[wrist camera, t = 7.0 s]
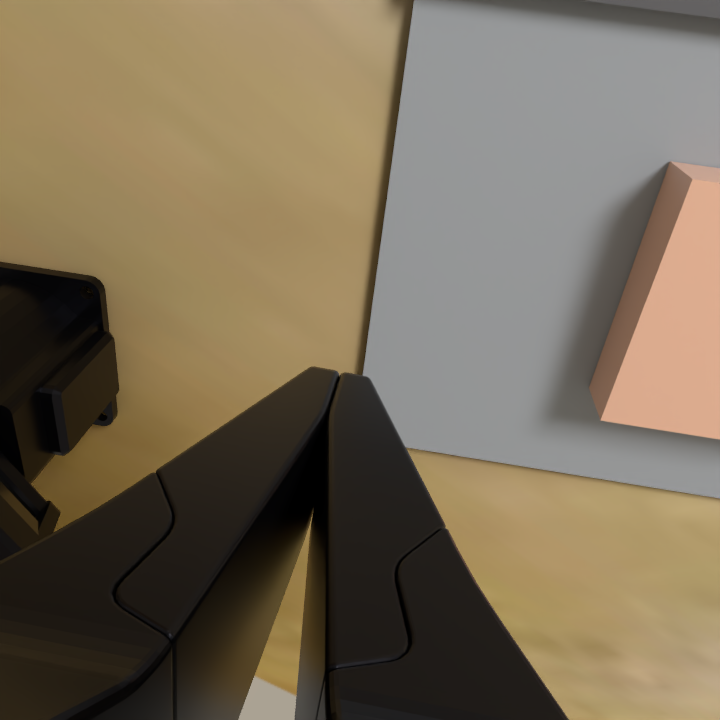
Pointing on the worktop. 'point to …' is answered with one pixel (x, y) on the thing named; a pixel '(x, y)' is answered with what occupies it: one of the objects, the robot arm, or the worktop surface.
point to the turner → (673, 6)
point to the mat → (533, 227)
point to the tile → (669, 316)
